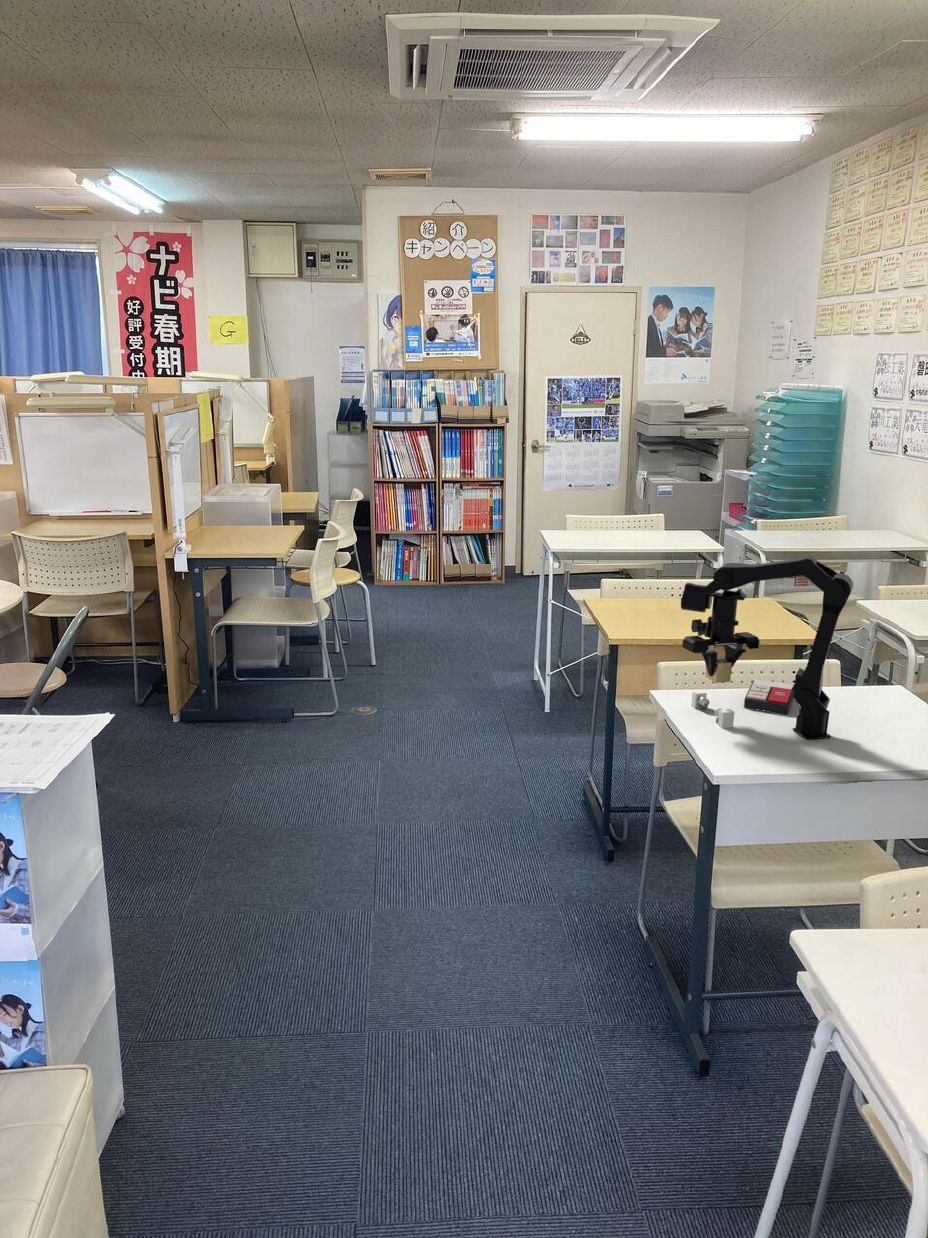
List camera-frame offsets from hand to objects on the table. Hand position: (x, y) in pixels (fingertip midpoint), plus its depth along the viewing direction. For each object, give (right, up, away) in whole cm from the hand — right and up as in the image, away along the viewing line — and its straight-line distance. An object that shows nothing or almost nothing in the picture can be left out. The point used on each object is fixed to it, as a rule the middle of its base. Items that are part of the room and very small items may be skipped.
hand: (717, 675), depth 230 cm
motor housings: (-1, -11, +3) cm, 11 cm away
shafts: (-1, -11, +3) cm, 11 cm away
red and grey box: (+18, -9, +14) cm, 24 cm away
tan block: (0, -1, 0) cm, 1 cm away
